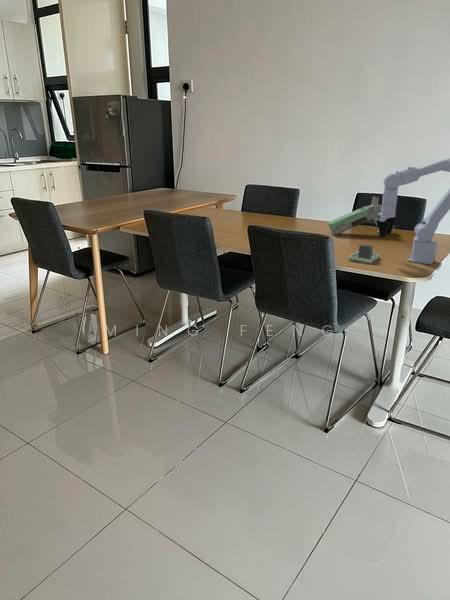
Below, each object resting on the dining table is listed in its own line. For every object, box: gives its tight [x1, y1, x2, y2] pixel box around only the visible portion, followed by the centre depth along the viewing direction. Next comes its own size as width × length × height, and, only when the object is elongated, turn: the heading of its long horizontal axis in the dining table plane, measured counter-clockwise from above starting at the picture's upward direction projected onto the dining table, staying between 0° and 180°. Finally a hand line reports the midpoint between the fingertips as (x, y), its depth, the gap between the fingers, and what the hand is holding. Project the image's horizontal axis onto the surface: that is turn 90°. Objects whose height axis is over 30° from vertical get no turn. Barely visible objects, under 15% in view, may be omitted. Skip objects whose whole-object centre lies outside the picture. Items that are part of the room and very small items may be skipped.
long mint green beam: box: [327, 196, 395, 236], centre depth 240 cm, size 7×32×20 cm, turn 93°
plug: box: [354, 243, 374, 259], centre depth 196 cm, size 7×3×6 cm, turn 55°
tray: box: [348, 252, 381, 265], centre depth 197 cm, size 10×11×2 cm
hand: (385, 235), depth 194 cm, fingers open, 7 cm apart
